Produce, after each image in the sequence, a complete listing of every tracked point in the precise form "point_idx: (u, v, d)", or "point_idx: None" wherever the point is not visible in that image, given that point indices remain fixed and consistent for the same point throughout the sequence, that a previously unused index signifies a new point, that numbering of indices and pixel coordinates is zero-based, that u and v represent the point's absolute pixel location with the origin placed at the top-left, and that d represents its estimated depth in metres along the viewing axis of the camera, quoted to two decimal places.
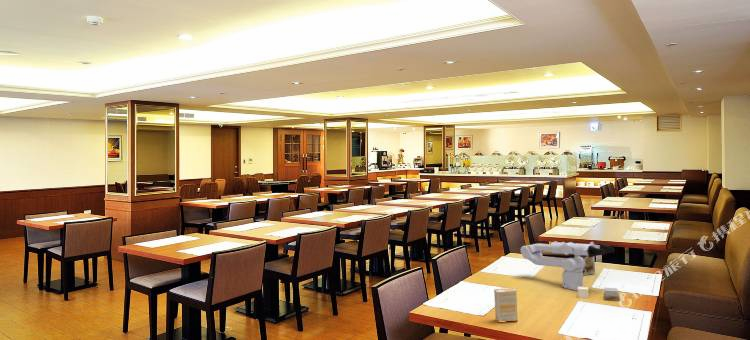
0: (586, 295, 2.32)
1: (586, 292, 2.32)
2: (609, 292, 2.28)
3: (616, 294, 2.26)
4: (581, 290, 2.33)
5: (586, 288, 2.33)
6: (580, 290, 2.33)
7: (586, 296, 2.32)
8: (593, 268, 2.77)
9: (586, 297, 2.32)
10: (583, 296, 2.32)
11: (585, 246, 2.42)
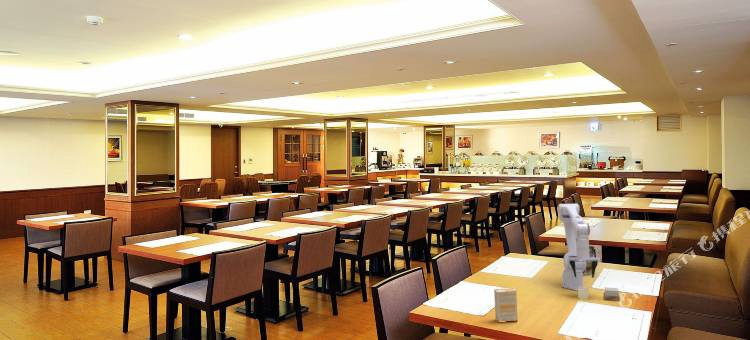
0: (586, 295, 2.32)
1: (586, 292, 2.32)
2: (610, 292, 2.27)
3: (616, 294, 2.26)
4: (581, 290, 2.33)
5: (586, 288, 2.33)
6: (580, 290, 2.33)
7: (586, 296, 2.32)
8: None
9: (586, 297, 2.32)
10: (583, 296, 2.32)
11: (578, 254, 2.33)
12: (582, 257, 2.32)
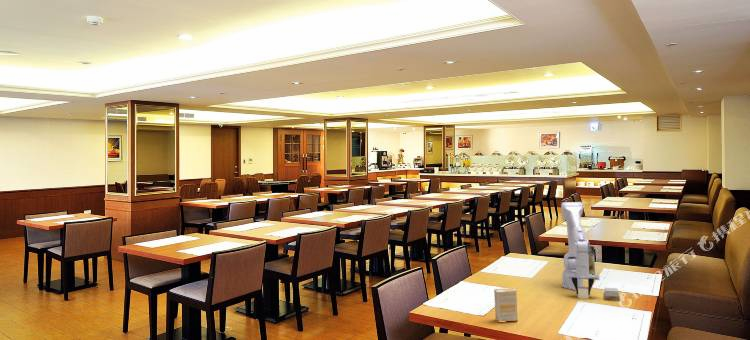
0: (586, 295, 2.32)
1: (586, 292, 2.32)
2: (609, 292, 2.27)
3: (616, 294, 2.26)
4: (581, 290, 2.33)
5: (586, 288, 2.33)
6: (580, 290, 2.33)
7: (586, 296, 2.32)
8: (593, 268, 2.77)
9: (586, 297, 2.32)
10: (583, 296, 2.32)
11: (577, 271, 2.33)
12: (581, 275, 2.32)
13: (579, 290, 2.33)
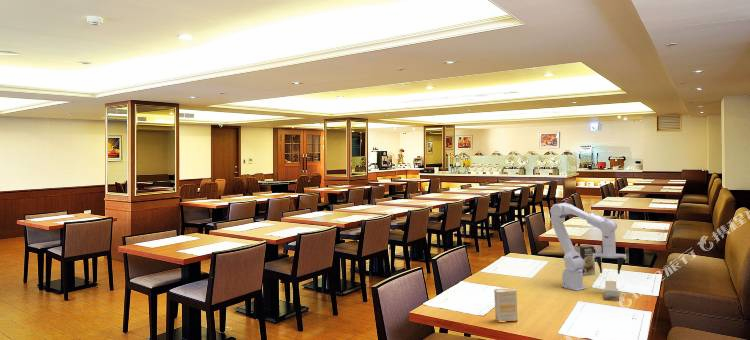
0: (614, 287, 2.27)
1: (614, 284, 2.27)
2: (609, 292, 2.28)
3: (616, 294, 2.27)
4: (608, 282, 2.28)
5: (614, 280, 2.29)
6: (607, 282, 2.28)
7: (614, 288, 2.27)
8: (593, 268, 2.77)
9: (614, 289, 2.27)
10: (611, 288, 2.28)
11: (604, 250, 2.36)
12: (608, 254, 2.34)
13: (606, 282, 2.29)
